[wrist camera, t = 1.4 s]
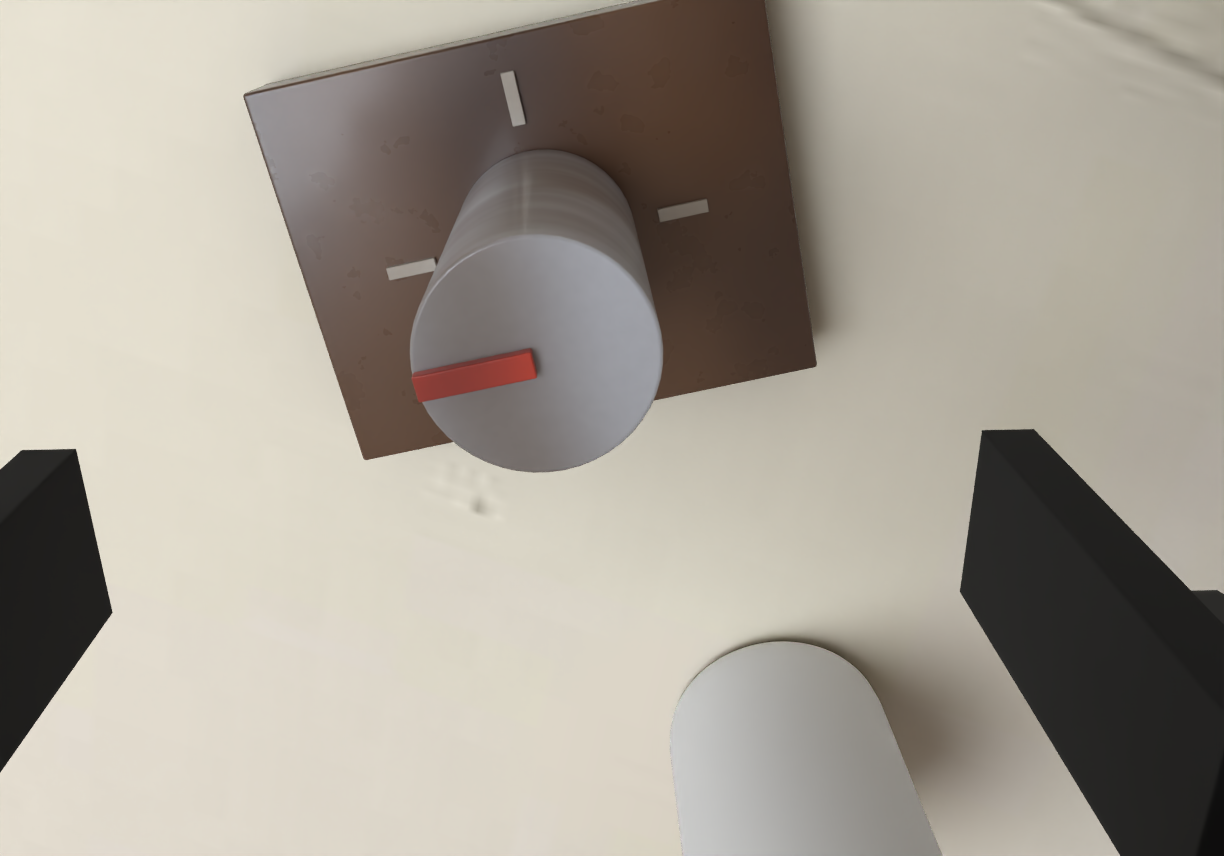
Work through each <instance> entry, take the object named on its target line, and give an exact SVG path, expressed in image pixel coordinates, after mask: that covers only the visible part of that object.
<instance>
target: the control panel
mask: <svg viewBox="0 0 1224 856" xmlns="http://www.w3.org/2000/svg"><path fill="white" fill-rule="evenodd" d="M244 100H245V103H246V106H247V109H248V112H249V115H250V118H251V121H252V124H253V127H254V130H255V133H256V136H257V139H258V142H259V145H260V148H261V151H262V154H263V157H264V160H265V163H266V166H267V169H268V173H269V176H270V179H271V182H272V185H273V188H274V191H275V194H276V197H277V200H278V203H279V206H280V209H281V212H282V215H283V218H284V221H285V224H286V227H287V230H288V233H289V236H290V239H291V242H292V245H293V248H294V251H295V254H296V257H297V260H298V263H299V266H300V269H301V272H302V275H303V278H304V281H305V284H306V287H307V290H308V293H309V296H310V299H311V302H312V305H313V308H314V311H315V314H316V317H317V320H318V323H319V326H320V329H321V332H322V335H323V338H324V341H325V344H326V347H327V350H328V353H329V356H330V359H331V362H332V365H333V368H334V371H335V374H336V377H337V380H338V383H339V386H340V389H341V392H342V395H343V398H344V401H345V404H346V407H347V410H348V413H349V416H350V419H351V422H352V425H353V428H354V431H355V434H356V437H357V440H358V443H359V446H360V449H361V452H362V455H363V458H364V459H365V460H369V459H373V458H378V457H383V456H388V455H393V454H398V453H402V452H407V451H412V450H417V449H422V448H427V447H431V446H436V445H441V444H446V443H451V442H453V441H452V440H451V439H450V438H449V437H447V436H446V434H445V433H444V432H443V431H442V430H441V429H440V428H439V427H438V426H437V425H436V423H435V422H434V421H433V419H432V418H431V416H430V415H429V414H428V412H427V410H426V408H425V407H424V405H423V403H422V402H421V403H420V402H418V399H417V395H416V392H415V389H414V386H413V382H412V379H411V378H412V375H413V374H412V370H411V361H410V340H411V333H412V328H413V323H414V319H415V317H416V314H417V311H418V308H419V305H420V303H421V301H422V298H423V296H424V294H425V291H426V289H427V287H428V284H429V282H430V280H431V277H432V275H433V273H434V270H435V268H436V266H437V264H438V261H439V259H440V257H441V254H442V252H443V250H444V247H445V245H446V243H447V240H448V238H449V236H450V233H451V231H452V229H453V226H454V224H455V222H456V219H457V217H458V215H459V212H460V210H461V208H462V205H463V203H464V201H465V199H466V197H467V195H468V193H469V191H470V190H471V188H472V187H473V186H474V184H475V183H476V181H477V180H478V179H479V178H480V177H481V176H482V175H483V174H484V173H485V172H486V171H487V170H489V169H490V168H491V167H492V166H494V165H495V164H497V163H499V162H500V161H502V160H503V159H506V158H508V157H510V156H512V155H515V154H518V153H522V152H525V151H532V150H545V149H550V150H559V151H564V152H568V153H572V154H575V155H578V156H580V157H582V158H585V159H587V160H588V161H590V162H592V163H594V164H595V165H597V166H598V167H599V168H601V169H602V170H603V171H605V172H606V173H607V174H608V175H609V176H610V177H611V178H612V179H613V180H614V182H615V183H616V184H617V185H618V187H619V188H620V189H621V191H622V193H623V194H624V196H625V198H626V200H627V202H628V204H629V207H630V209H631V212H632V216H633V219H634V223H635V227H636V231H637V236H638V240H639V244H640V248H641V252H642V256H643V260H644V264H645V268H646V272H647V276H648V280H649V285H650V289H651V293H652V297H653V301H654V305H655V309H656V313H657V317H658V321H659V325H660V330H661V335H662V343H663V367H662V374H661V380H660V383H659V386H658V390H657V393H656V396H655V398H654V400H658V399H663V398H668V397H673V396H677V395H682V394H687V393H692V392H697V391H702V390H706V389H711V388H716V387H721V386H726V385H731V384H735V383H740V382H745V381H750V380H755V379H759V378H764V377H769V376H774V375H779V374H784V373H788V372H793V371H798V370H803V369H808V368H813V367H816V365H817V361H816V354H815V347H814V340H813V333H812V326H811V319H810V312H809V305H808V298H807V291H806V284H805V277H804V270H803V263H802V256H801V249H800V242H799V235H798V228H797V221H796V214H795V207H794V200H793V193H792V185H791V178H790V171H789V164H788V157H787V150H786V143H785V136H784V129H783V122H782V115H781V108H780V101H779V94H778V87H777V80H776V73H775V66H774V59H773V52H772V45H771V38H770V31H769V24H768V17H767V10H766V3H765V0H637V1H633V2H629V3H624V4H620V5H615V6H611V7H606V8H602V9H598V10H593V11H589V12H584V13H580V14H575V15H571V16H567V17H562V18H558V19H553V20H549V21H544V22H540V23H536V24H531V25H527V26H522V27H518V28H513V29H509V30H504V31H500V32H496V33H491V34H487V35H482V36H478V37H473V38H469V39H465V40H460V41H456V42H451V43H447V44H442V45H438V46H434V47H429V48H425V49H420V50H416V51H411V52H407V53H403V54H398V55H394V56H389V57H385V58H380V59H376V60H372V61H367V62H363V63H358V64H354V65H349V66H345V67H341V68H336V69H332V70H327V71H323V72H318V73H314V74H310V75H305V76H301V77H296V78H292V79H287V80H283V81H278V82H274V83H270V84H266V85H264V86H262V87H259V88H257V89H254V90H252V91H250V92H247V93H245V94H244Z"/></svg>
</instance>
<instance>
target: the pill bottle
mask: <svg viewBox="0 0 1224 856" xmlns="http://www.w3.org/2000/svg"><path fill="white" fill-rule="evenodd" d="M670 755H671V764H672V772H673V780H674V789H675V797H676V805H677V813H678V822H679V830H680V838H681V847H682V855H683V856H942V853H941V851H940V848H939V846H938V843H937V841H936V838H935V836H934V833H933V831H932V828H931V826H930V824H929V821H928V819H927V816H926V814H925V811H924V809H923V806H922V804H921V801H920V799H919V796H918V794H917V791H916V789H915V786H914V784H913V781H912V779H911V777H910V774H909V772H908V769H907V767H906V764H905V762H904V759H903V757H902V754H901V752H900V749H899V747H898V744H897V742H896V739H895V737H894V735H893V732H892V730H891V727H890V725H889V722H888V720H887V717H886V715H885V712H884V710H883V707H882V705H881V703H880V701H879V699H878V697H877V695H876V694H875V692H874V690H873V689H872V687H871V685H870V684H869V682H868V681H867V680H866V678H865V677H864V676H863V675H862V674H861V673H860V672H859V671H858V670H857V669H856V668H855V667H854V666H853V665H852V664H851V663H849V662H848V661H846V660H845V659H843V658H842V657H840V656H838V655H837V654H835V653H833V652H831V651H828V650H826V649H823V648H820V647H817V646H814V645H810V644H805V643H799V642H784V641H782V642H767V643H761V644H756V645H751V646H748V647H744V648H741V649H739V650H736V651H734V652H731V653H729V654H727V655H725V656H723V657H721V658H720V659H718V660H716V661H715V662H713V663H712V664H710V665H709V666H708V667H706V668H705V669H704V670H703V671H702V672H701V673H699V674H698V675H697V676H696V677H695V679H694V680H693V681H692V682H691V683H690V684H689V686H688V687H687V688H686V690H685V691H684V693H683V694H682V696H681V698H680V700H679V702H678V704H677V706H676V709H675V712H674V715H673V719H672V724H671V732H670Z"/></svg>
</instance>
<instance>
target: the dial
mask: <svg viewBox="0 0 1224 856" xmlns="http://www.w3.org/2000/svg"><path fill="white" fill-rule="evenodd" d="M410 361H411V370H412V374H413V375H412V378H411V379H412V382H413V386H414V389H415V392H416V395H417V399H418V402H420V403H421V402H422V403H423V405H424V407H425V408H426V410H427V412H428V414H429V415H430V416H431V418H432V419H433V421H434V422H435V423H436V425H437V426H438V427H439V428H440V429H441V430H442V431H443V432H444V433H445V434H446V436H447V437H449V438H450V439H451V440H452V441H453V442H455V443H456V444H457V445H458V446H459V447H461V448H462V449H464V450H465V451H467V452H469V453H470V454H472V455H473V456H475V457H477V458H479V459H481V460H483V461H486V462H488V463H491V464H493V465H496V466H499V467H502V468H507V469H511V470H516V471H524V472H553V471H560V470H566V469H570V468H574V467H577V466H581V465H583V464H586V463H588V462H591V461H593V460H595V459H597V458H599V457H601V456H603V455H604V454H606V453H608V452H609V451H611V450H612V449H614V448H615V447H616V446H618V445H619V444H620V443H622V442H623V441H624V440H625V439H626V438H627V437H628V436H629V435H630V434H631V433H632V432H633V431H634V430H635V429H636V427H637V426H638V425H639V424H640V422H641V421H642V420H643V418H644V417H645V415H646V413H647V412H648V410H649V409H650V407H651V404H652V402H653V400H654V398H655V396H656V393H657V390H658V386H659V383H660V380H661V374H662V367H663V343H662V335H661V330H660V325H659V321H658V317H657V313H656V309H655V305H654V301H653V297H652V293H651V289H650V285H649V280H648V276H647V272H646V268H645V264H644V260H643V256H642V252H641V248H640V244H639V240H638V236H637V231H636V227H635V223H634V219H633V216H632V212H631V209H630V207H629V204H628V202H627V200H626V198H625V196H624V194H623V193H622V191H621V189H620V188H619V187H618V185H617V184H616V183H615V182H614V180H613V179H612V178H611V177H610V176H609V175H608V174H607V173H606V172H605V171H603V170H602V169H601V168H599V167H598V166H597V165H595V164H594V163H592V162H590V161H588V160H587V159H585V158H582V157H580V156H578V155H575V154H572V153H568V152H564V151H559V150H550V149H545V150H532V151H525V152H522V153H518V154H515V155H512V156H510V157H508V158H506V159H503V160H502V161H500V162H499V163H497V164H495V165H494V166H492V167H491V168H490V169H489V170H487V171H486V172H485V173H484V174H483V175H482V176H481V177H480V178H479V179H478V180H477V181H476V183H475V184H474V186H473V187H472V188H471V190H470V191H469V193H468V195H467V197H466V199H465V201H464V203H463V205H462V208H461V210H460V212H459V215H458V217H457V219H456V222H455V224H454V226H453V229H452V231H451V233H450V236H449V238H448V240H447V243H446V245H445V247H444V250H443V252H442V254H441V257H440V259H439V261H438V264H437V266H436V268H435V270H434V273H433V275H432V277H431V280H430V282H429V284H428V287H427V289H426V291H425V294H424V296H423V298H422V301H421V303H420V305H419V308H418V311H417V314H416V317H415V319H414V323H413V328H412V333H411V340H410Z"/></svg>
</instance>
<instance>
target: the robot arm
mask: <svg viewBox="0 0 1224 856" xmlns="http://www.w3.org/2000/svg"><path fill="white" fill-rule="evenodd" d="M960 593H961V594H962V596H963V598H964V599H965V601H966V603H967V604H968V606H969V607H970V609H971V611H972V612H973V614H974V616H975V617H976V619H977V621H978V622H979V624H980V626H981V627H982V629H983V630H984V632H985V634H986V635H987V637H988V639H989V640H990V642H991V644H992V645H993V647H994V649H995V650H996V652H997V653H998V655H999V657H1000V658H1001V660H1002V662H1003V663H1004V665H1005V667H1006V668H1007V670H1008V672H1009V673H1010V675H1011V677H1012V678H1013V680H1014V681H1015V683H1016V685H1017V686H1018V688H1019V690H1020V691H1021V693H1022V695H1023V696H1024V698H1025V700H1026V701H1027V703H1028V704H1029V706H1030V708H1031V709H1032V711H1033V713H1034V714H1035V716H1036V718H1037V719H1038V721H1039V723H1040V724H1041V726H1042V727H1043V729H1044V731H1045V732H1046V734H1047V736H1048V737H1049V739H1050V741H1051V742H1052V744H1053V746H1054V747H1055V749H1056V751H1057V752H1058V754H1059V755H1060V757H1061V759H1062V760H1063V762H1064V764H1065V765H1066V767H1067V769H1068V770H1069V772H1070V774H1071V775H1072V777H1073V778H1074V780H1075V782H1076V783H1077V785H1078V787H1079V788H1080V790H1081V792H1082V793H1083V795H1084V797H1085V798H1086V800H1087V801H1088V803H1089V805H1090V806H1091V808H1092V810H1093V811H1094V813H1095V815H1096V816H1097V818H1098V820H1099V821H1100V823H1101V825H1102V826H1103V828H1104V829H1105V831H1106V833H1107V834H1108V836H1109V838H1110V839H1111V841H1112V843H1113V844H1114V846H1115V848H1116V849H1117V851H1118V852H1119V854H1120V856H1224V594H1223V593H1221V592H1219V591H1217V590H1206V591H1191V590H1190V589H1189V588H1188V587H1187V586H1186V585H1185V584H1184V583H1183V582H1182V581H1181V580H1180V579H1179V578H1178V577H1177V576H1176V575H1175V574H1174V573H1173V572H1172V571H1171V570H1170V569H1169V568H1168V567H1167V566H1166V565H1165V564H1164V563H1163V562H1162V561H1161V559H1160V558H1159V557H1158V556H1157V555H1156V554H1155V553H1154V552H1153V551H1152V550H1151V549H1150V548H1149V547H1148V546H1147V545H1146V544H1145V543H1144V542H1143V541H1142V540H1141V539H1140V538H1139V537H1138V536H1137V535H1136V534H1135V533H1134V532H1133V531H1132V530H1131V529H1130V528H1129V527H1128V526H1127V525H1126V524H1125V522H1124V521H1123V520H1122V519H1121V518H1120V517H1119V516H1118V515H1117V514H1116V513H1115V512H1114V511H1113V510H1112V509H1111V508H1110V507H1109V506H1108V505H1107V504H1106V503H1105V502H1104V501H1103V500H1102V499H1101V498H1100V497H1099V496H1098V495H1097V494H1096V493H1095V492H1094V491H1093V490H1092V489H1091V488H1090V487H1089V485H1088V484H1087V483H1086V482H1085V481H1084V480H1083V479H1082V478H1081V477H1080V476H1079V475H1078V474H1077V473H1076V472H1075V471H1074V470H1073V469H1072V468H1071V467H1070V466H1069V465H1068V464H1067V463H1066V462H1065V461H1064V460H1063V459H1062V458H1061V457H1060V456H1059V455H1058V454H1057V453H1056V452H1055V451H1054V450H1053V448H1052V447H1051V446H1050V445H1049V444H1048V443H1047V442H1046V441H1045V440H1044V439H1043V438H1042V437H1041V436H1040V435H1039V434H1038V433H1037V432H1036V431H1035V430H1034V429H1023V430H982V435H981V442H980V450H979V457H978V464H977V471H976V479H975V486H974V493H973V501H972V508H971V515H970V522H969V530H968V537H967V544H966V552H965V559H964V566H963V573H962V581H961V588H960ZM111 614H112V609H111V604H110V600H109V595H108V591H107V586H106V582H105V577H104V573H103V568H102V564H101V559H100V555H99V550H98V546H97V541H96V537H95V532H94V528H93V523H92V519H91V514H90V510H89V505H88V501H87V496H86V492H85V487H84V483H83V478H82V474H81V470H80V465H79V461H78V456H77V452H76V449H59V450H22V451H20V452H19V453H18V454H17V455H16V456H15V457H14V458H13V459H12V460H10V461H9V462H8V463H7V464H6V465H5V466H4V467H3V468H2V469H0V772H1V771H2V769H3V768H4V766H5V765H6V764H7V762H8V761H9V759H10V758H11V756H12V755H13V754H14V752H15V751H16V749H17V748H18V746H19V745H20V744H21V742H22V741H23V739H24V738H25V736H26V735H27V734H28V732H29V731H30V729H31V728H32V727H33V725H34V724H35V722H36V721H37V719H38V718H39V717H40V715H41V714H42V712H43V711H44V709H45V708H46V707H47V705H48V704H49V702H50V701H51V699H52V698H53V697H54V695H55V694H56V692H57V691H58V689H59V688H60V687H61V685H62V684H63V682H64V681H65V680H66V678H67V677H68V675H69V674H70V672H71V671H72V670H73V668H74V667H75V665H76V664H77V662H78V661H79V660H80V658H81V657H82V655H83V654H84V652H85V651H86V650H87V648H88V647H89V645H90V644H91V642H92V641H93V640H94V638H95V637H96V635H97V634H98V633H99V631H100V630H101V628H102V627H103V625H104V624H105V623H106V621H107V620H108V618H109V617H110V615H111Z"/></svg>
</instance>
